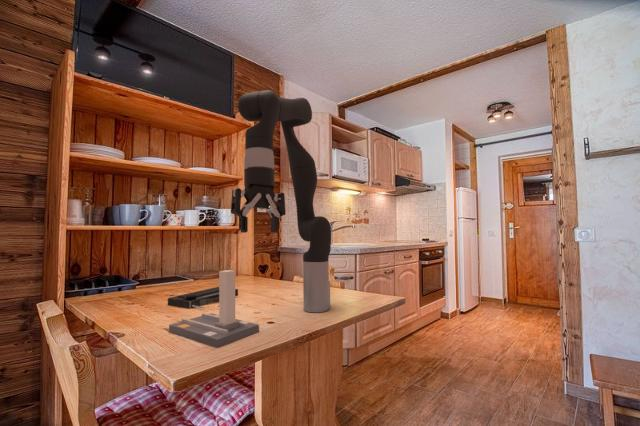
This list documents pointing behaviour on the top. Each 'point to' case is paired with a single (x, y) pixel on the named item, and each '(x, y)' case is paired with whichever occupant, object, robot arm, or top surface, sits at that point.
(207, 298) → the black rectangular tray
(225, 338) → the switch panel
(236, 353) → the top surface
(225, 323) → the switch tab
